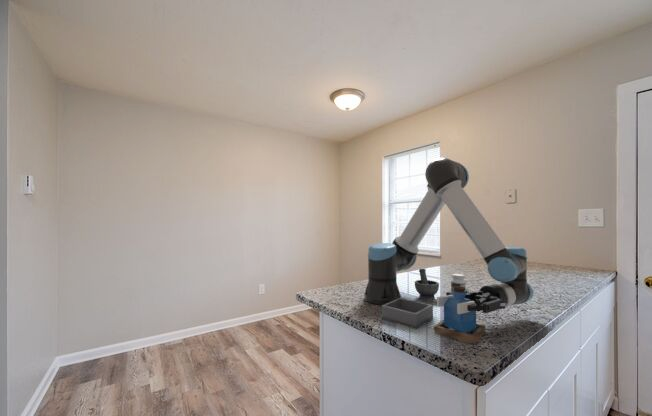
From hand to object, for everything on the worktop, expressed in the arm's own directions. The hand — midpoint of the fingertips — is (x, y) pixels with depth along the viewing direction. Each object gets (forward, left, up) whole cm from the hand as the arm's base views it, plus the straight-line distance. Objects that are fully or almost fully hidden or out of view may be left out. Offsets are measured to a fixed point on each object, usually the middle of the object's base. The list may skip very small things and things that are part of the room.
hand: (447, 305), depth 81 cm
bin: (-15, +5, -9) cm, 18 cm away
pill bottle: (-11, +44, -9) cm, 46 cm away
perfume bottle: (+2, +5, -8) cm, 9 cm away
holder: (+2, +5, -9) cm, 10 cm away
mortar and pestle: (-21, +34, -9) cm, 41 cm away
